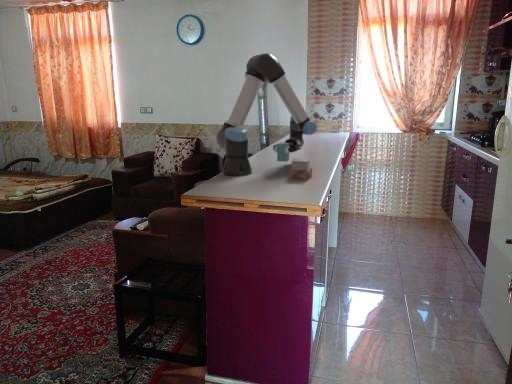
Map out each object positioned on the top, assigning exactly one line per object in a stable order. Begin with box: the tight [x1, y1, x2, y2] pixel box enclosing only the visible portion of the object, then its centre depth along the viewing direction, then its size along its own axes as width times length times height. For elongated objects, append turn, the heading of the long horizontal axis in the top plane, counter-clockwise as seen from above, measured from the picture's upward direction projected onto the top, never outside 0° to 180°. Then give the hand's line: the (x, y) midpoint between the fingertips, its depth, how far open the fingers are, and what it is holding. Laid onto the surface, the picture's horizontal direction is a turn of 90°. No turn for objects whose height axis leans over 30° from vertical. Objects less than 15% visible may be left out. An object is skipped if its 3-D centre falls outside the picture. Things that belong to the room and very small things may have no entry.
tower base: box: [289, 167, 313, 181], centre depth 195 cm, size 9×9×4 cm
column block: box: [276, 142, 290, 163], centre depth 207 cm, size 5×5×9 cm
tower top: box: [291, 158, 310, 171], centre depth 194 cm, size 8×8×4 cm
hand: (280, 150), depth 202 cm, fingers closed on column block, 5 cm apart
